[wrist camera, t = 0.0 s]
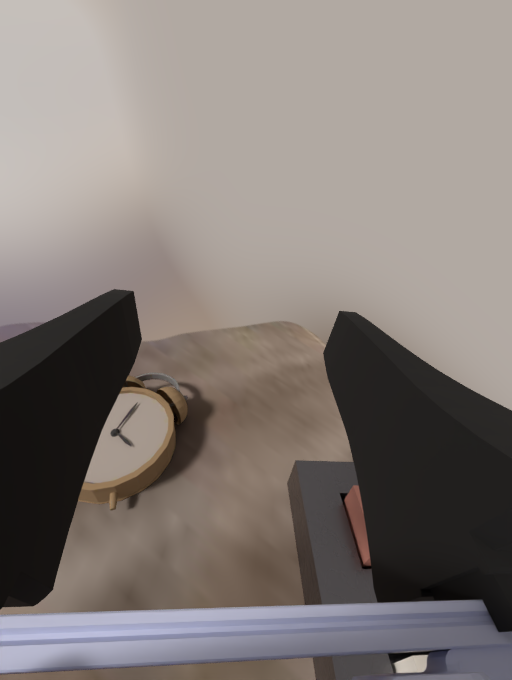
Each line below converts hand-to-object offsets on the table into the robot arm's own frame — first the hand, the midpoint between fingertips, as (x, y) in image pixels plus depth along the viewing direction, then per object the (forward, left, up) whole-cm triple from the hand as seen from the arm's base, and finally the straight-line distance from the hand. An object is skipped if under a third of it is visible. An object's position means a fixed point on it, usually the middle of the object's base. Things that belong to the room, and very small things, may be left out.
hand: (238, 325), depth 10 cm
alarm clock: (+11, +10, -22) cm, 27 cm away
